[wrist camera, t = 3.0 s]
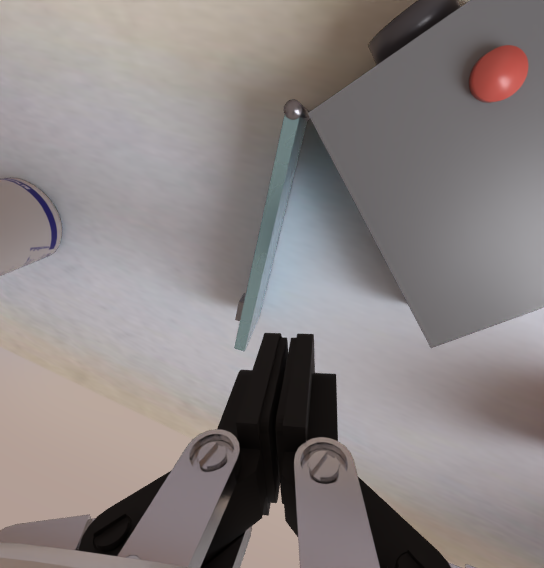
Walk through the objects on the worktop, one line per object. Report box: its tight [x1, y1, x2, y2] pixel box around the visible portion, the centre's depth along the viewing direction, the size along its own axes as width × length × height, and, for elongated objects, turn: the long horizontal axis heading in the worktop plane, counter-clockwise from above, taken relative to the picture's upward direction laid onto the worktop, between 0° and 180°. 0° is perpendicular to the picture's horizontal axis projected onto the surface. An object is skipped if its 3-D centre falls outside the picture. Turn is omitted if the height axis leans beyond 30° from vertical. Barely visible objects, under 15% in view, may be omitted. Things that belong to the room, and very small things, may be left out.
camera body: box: [308, 0, 544, 348], centre depth 15 cm, size 13×8×5 cm, turn 32°
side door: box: [234, 99, 309, 351], centre depth 18 cm, size 12×1×4 cm, turn 167°
